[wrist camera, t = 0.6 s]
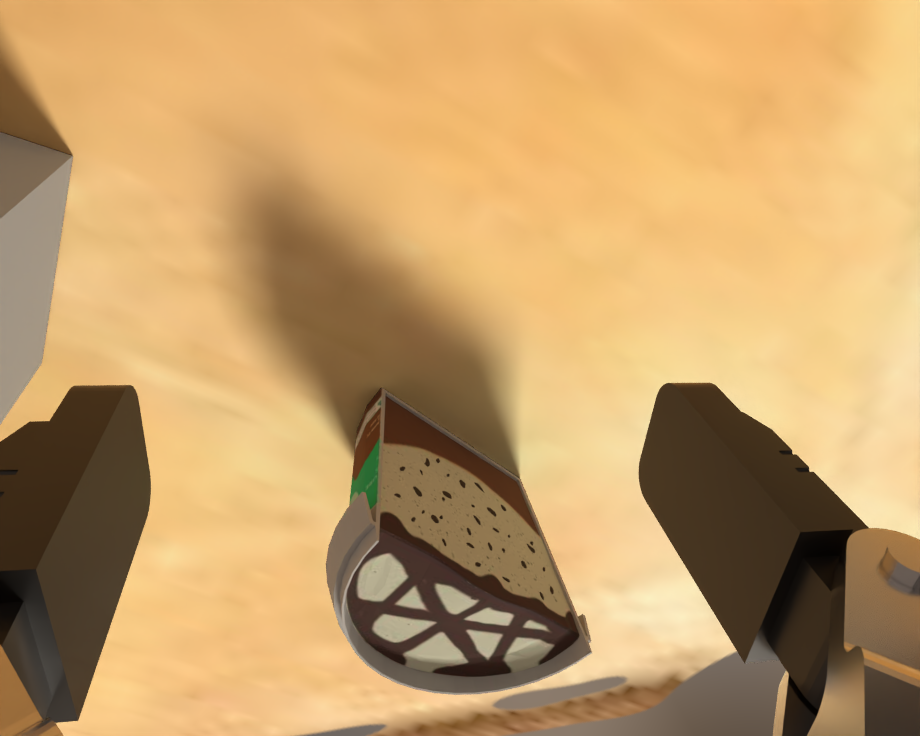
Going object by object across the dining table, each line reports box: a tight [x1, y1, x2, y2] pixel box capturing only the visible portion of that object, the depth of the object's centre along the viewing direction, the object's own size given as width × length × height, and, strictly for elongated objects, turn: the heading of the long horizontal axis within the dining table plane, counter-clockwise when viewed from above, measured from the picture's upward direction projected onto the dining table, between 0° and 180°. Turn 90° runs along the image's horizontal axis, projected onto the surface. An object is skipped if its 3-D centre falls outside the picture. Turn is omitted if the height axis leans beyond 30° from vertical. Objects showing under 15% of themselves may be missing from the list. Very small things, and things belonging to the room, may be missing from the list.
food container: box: [326, 388, 592, 695], centre depth 30 cm, size 12×6×10 cm, turn 47°
